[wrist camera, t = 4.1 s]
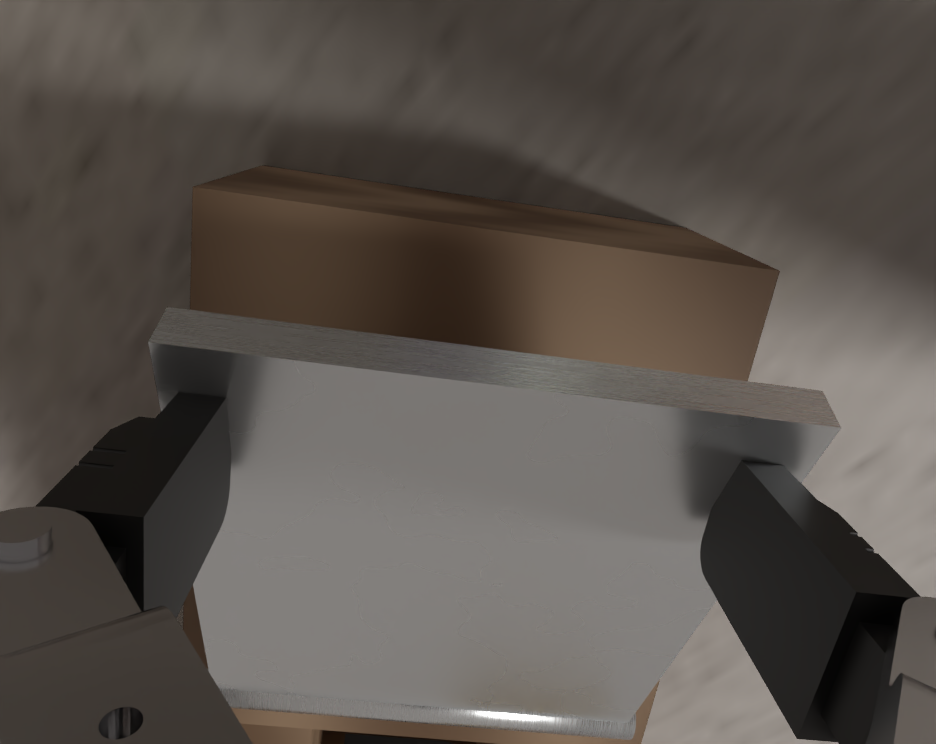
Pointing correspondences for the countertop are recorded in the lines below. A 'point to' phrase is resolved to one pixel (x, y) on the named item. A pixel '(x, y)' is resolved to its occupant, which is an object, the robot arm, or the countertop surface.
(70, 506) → the robot arm
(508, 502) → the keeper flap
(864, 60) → the countertop surface
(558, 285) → the block
